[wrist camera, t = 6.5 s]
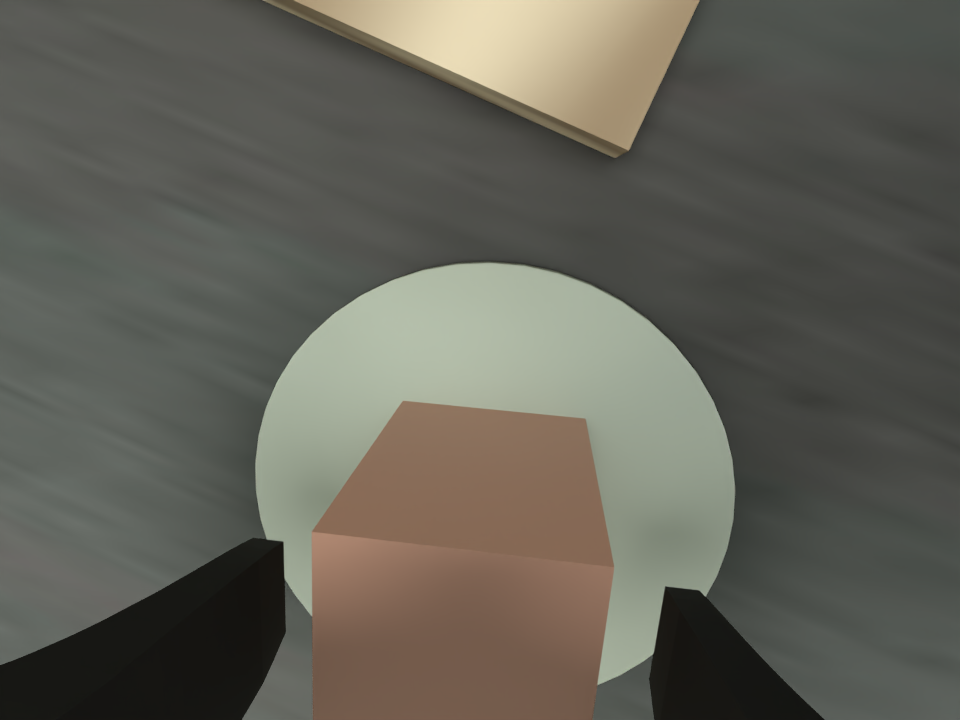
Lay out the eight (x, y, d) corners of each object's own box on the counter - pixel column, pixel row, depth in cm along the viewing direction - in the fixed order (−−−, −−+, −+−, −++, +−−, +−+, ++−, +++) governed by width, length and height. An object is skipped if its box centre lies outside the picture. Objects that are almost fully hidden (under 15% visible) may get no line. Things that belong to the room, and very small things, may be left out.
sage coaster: (823, 387, 14) (835, 395, 14) (595, 746, 17) (597, 765, 17) (353, 177, 14) (345, 177, 13) (213, 580, 17) (202, 593, 17)
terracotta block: (585, 418, 14) (614, 567, 8) (565, 579, 15) (579, 806, 10) (402, 400, 15) (311, 532, 9) (397, 559, 16) (313, 767, 10)
